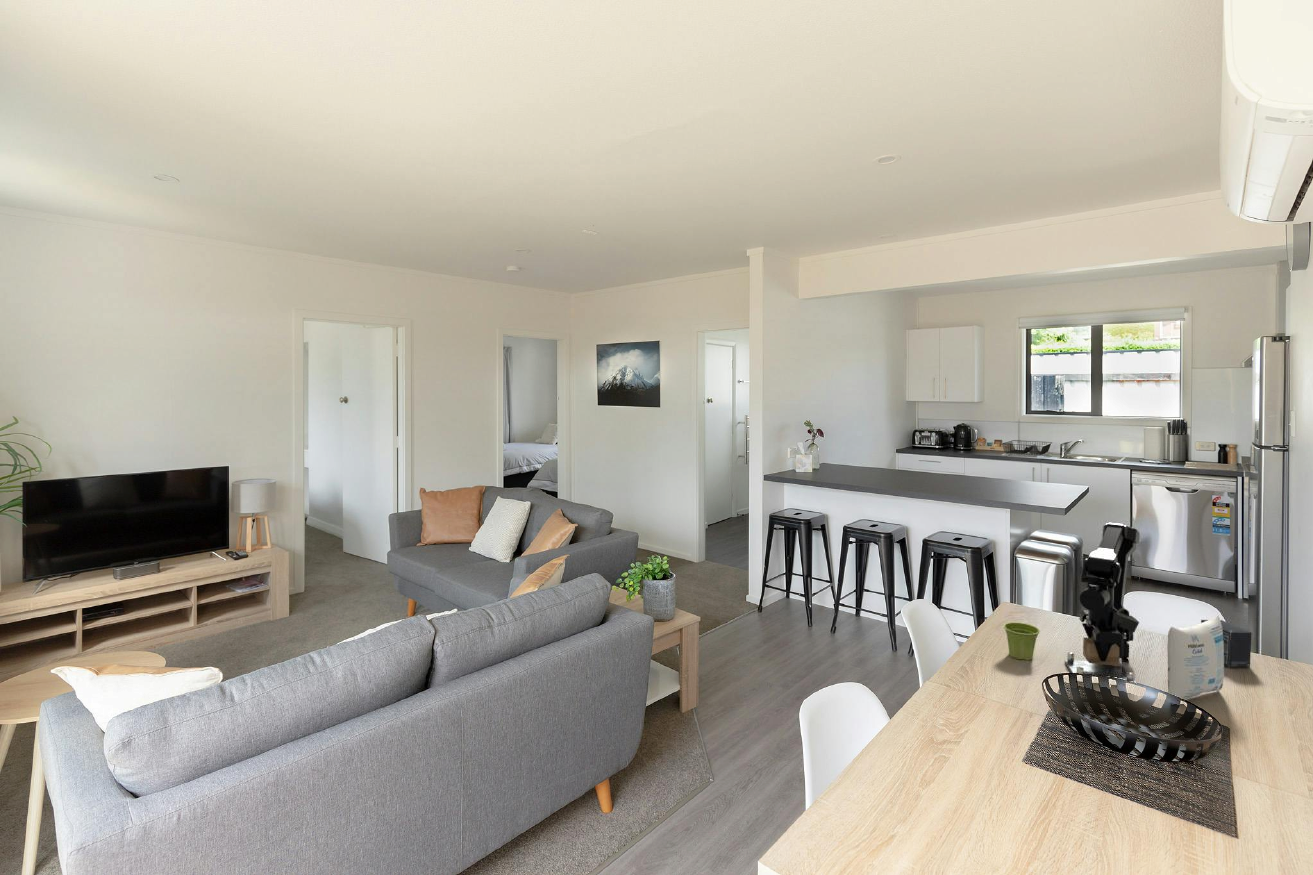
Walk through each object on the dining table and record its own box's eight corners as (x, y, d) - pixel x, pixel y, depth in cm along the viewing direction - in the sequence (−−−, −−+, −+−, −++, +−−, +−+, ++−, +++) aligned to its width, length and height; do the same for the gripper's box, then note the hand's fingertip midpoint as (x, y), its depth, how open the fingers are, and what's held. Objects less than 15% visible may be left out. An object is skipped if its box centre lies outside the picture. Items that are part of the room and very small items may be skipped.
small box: (1252, 668, 184) (1253, 631, 184) (1228, 668, 184) (1230, 632, 184) (1220, 653, 195) (1222, 618, 194) (1198, 653, 195) (1199, 619, 194)
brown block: (1118, 665, 178) (1119, 647, 178) (1088, 662, 181) (1089, 645, 180) (1111, 657, 184) (1112, 639, 184) (1083, 654, 186) (1083, 637, 186)
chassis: (1075, 681, 179) (1076, 669, 179) (1064, 662, 191) (1064, 651, 191) (1137, 688, 174) (1137, 675, 174) (1121, 668, 186) (1121, 656, 186)
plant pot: (1045, 657, 195) (1045, 628, 195) (1029, 665, 190) (1029, 636, 189) (1013, 647, 203) (1013, 620, 202) (997, 655, 198) (997, 626, 197)
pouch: (1237, 698, 167) (1240, 621, 166) (1184, 711, 162) (1186, 632, 160) (1203, 685, 175) (1206, 612, 173) (1151, 697, 169) (1153, 621, 168)
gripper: (1147, 615, 170) (1146, 674, 171) (1124, 593, 187) (1123, 647, 188) (1097, 611, 174) (1095, 668, 175) (1079, 590, 191) (1078, 642, 192)
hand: (1099, 656), depth 182 cm, fingers closed on brown block, 6 cm apart
